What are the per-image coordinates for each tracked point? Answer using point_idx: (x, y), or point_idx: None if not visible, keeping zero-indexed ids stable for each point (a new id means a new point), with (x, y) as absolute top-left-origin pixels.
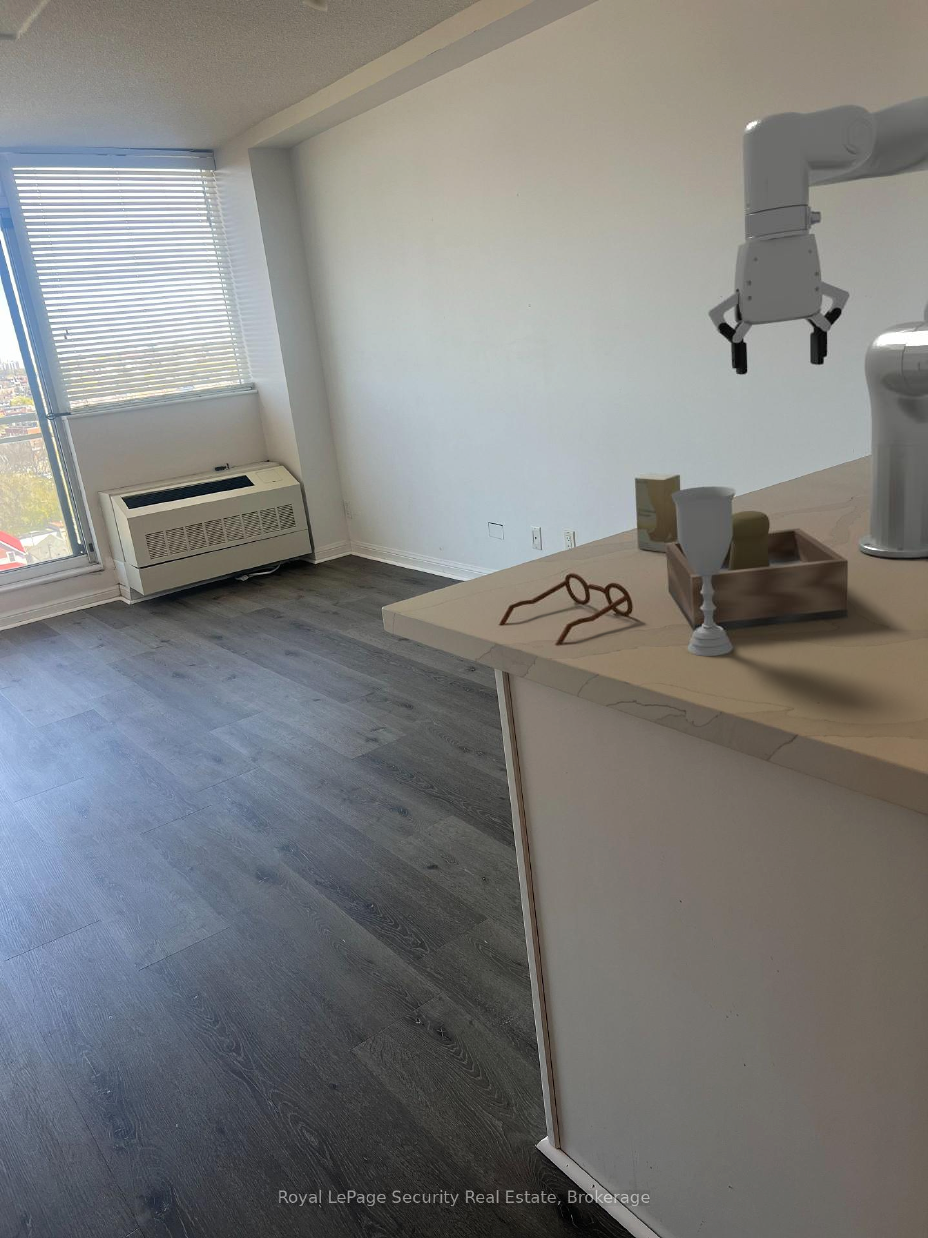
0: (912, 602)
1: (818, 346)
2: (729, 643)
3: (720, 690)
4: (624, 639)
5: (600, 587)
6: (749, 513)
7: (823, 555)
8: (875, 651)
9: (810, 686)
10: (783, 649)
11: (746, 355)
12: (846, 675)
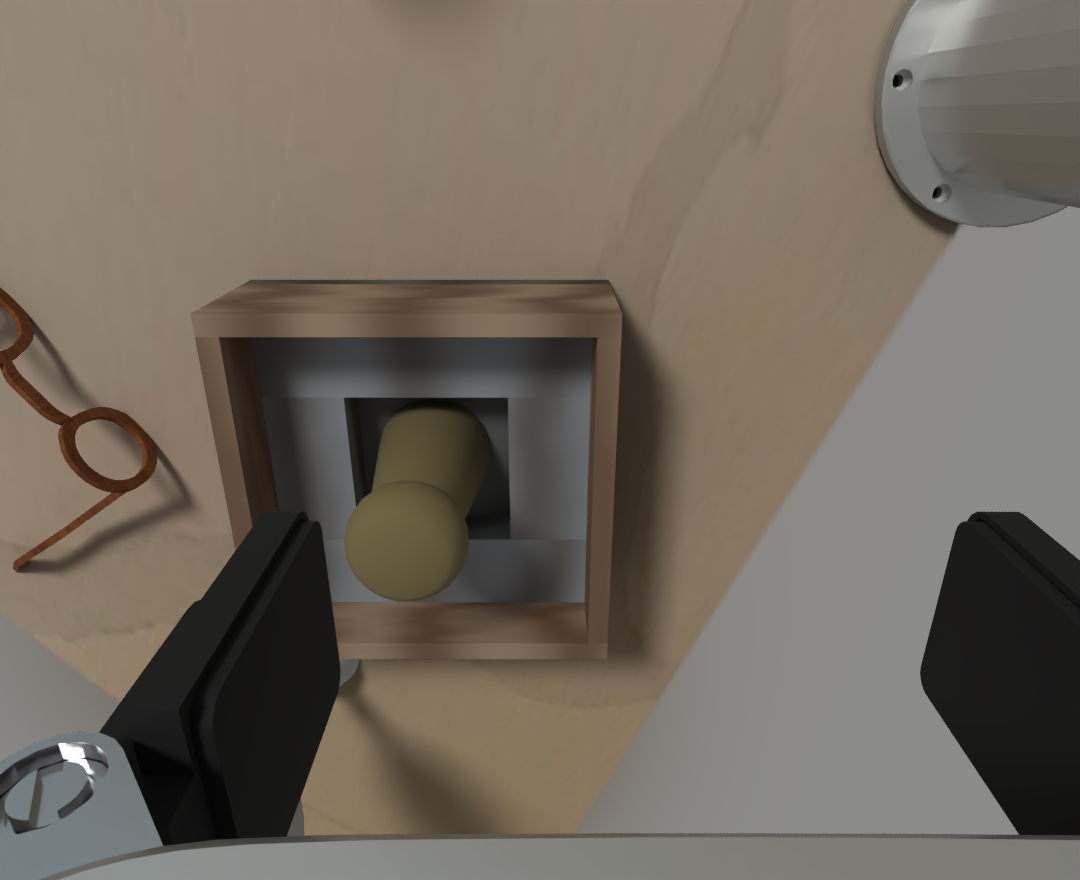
0: (749, 538)
1: (998, 800)
2: (350, 670)
3: (317, 795)
4: (157, 576)
5: (45, 415)
6: (402, 578)
7: (589, 566)
8: (574, 726)
9: (441, 807)
10: (440, 688)
11: (295, 797)
12: (500, 788)
